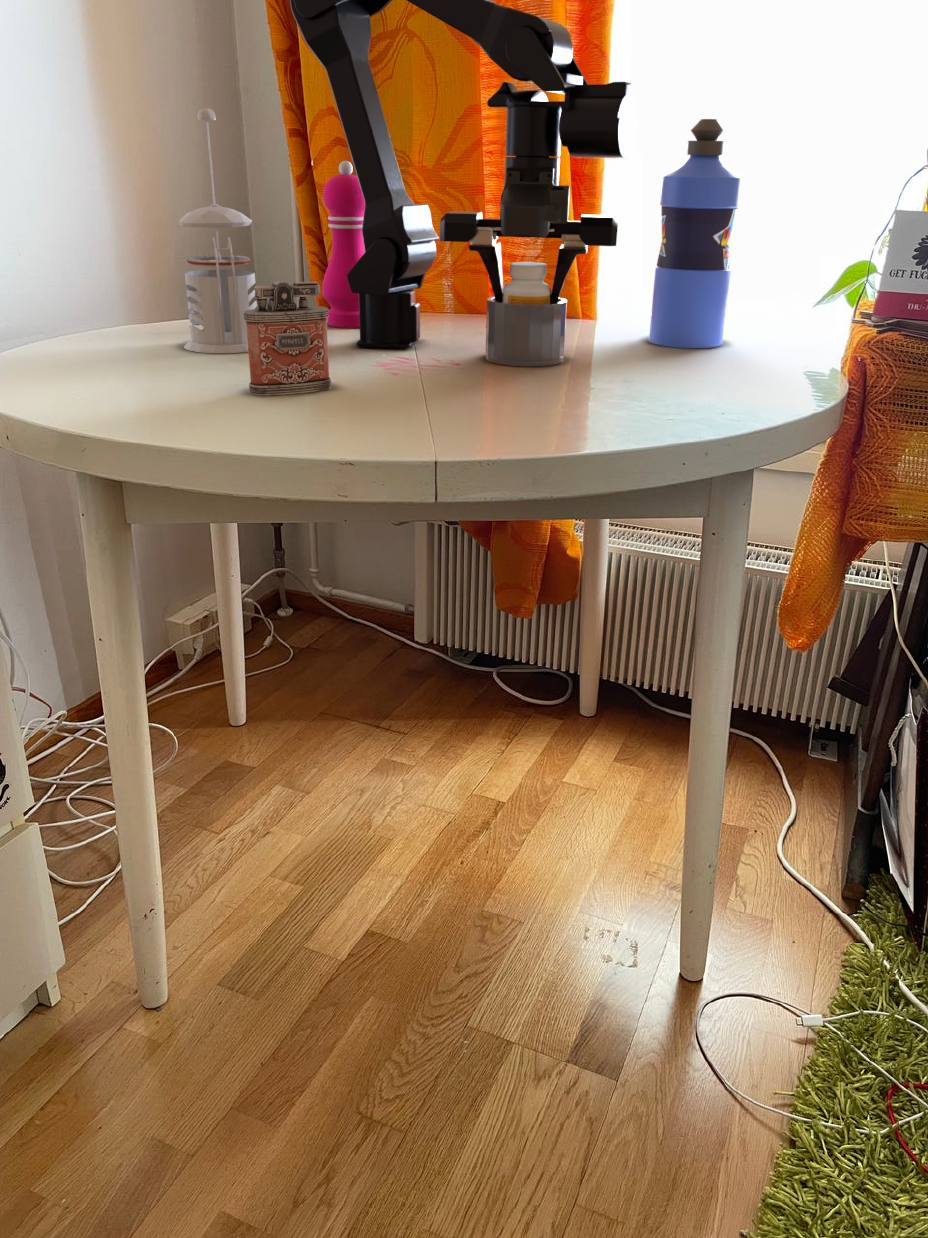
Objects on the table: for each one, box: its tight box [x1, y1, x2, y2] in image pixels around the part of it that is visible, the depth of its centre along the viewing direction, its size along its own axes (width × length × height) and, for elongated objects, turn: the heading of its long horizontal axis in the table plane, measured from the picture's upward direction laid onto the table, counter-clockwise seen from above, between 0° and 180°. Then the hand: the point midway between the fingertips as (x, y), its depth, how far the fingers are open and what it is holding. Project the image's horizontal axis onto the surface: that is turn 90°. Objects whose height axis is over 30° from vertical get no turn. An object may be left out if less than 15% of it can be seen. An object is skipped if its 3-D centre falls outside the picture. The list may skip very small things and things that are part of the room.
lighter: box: [243, 280, 332, 396], centre depth 93 cm, size 8×3×10 cm, turn 117°
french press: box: [177, 107, 258, 354], centre depth 111 cm, size 10×12×25 cm
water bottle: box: [648, 118, 744, 349], centre depth 119 cm, size 9×9×25 cm
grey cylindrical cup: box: [485, 295, 568, 368], centre depth 111 cm, size 9×9×6 cm
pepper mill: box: [321, 160, 365, 329], centre depth 129 cm, size 7×7×20 cm
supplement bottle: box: [502, 261, 552, 304], centre depth 110 cm, size 5×5×10 cm
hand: (525, 311), depth 110 cm, fingers closed on supplement bottle, 5 cm apart
